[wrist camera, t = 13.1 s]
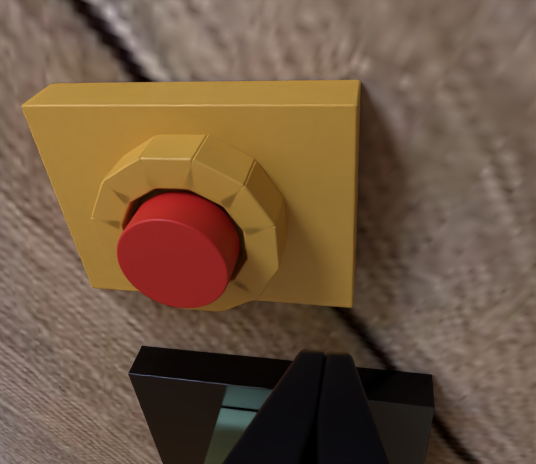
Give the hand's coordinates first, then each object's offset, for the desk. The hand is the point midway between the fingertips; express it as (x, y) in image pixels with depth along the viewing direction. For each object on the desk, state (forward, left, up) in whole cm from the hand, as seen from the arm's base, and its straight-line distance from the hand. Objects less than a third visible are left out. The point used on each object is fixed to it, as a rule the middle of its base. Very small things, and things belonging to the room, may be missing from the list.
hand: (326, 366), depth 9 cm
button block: (+6, +4, -12) cm, 14 cm away
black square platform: (+4, +22, -12) cm, 25 cm away
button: (+6, +4, -8) cm, 11 cm away
